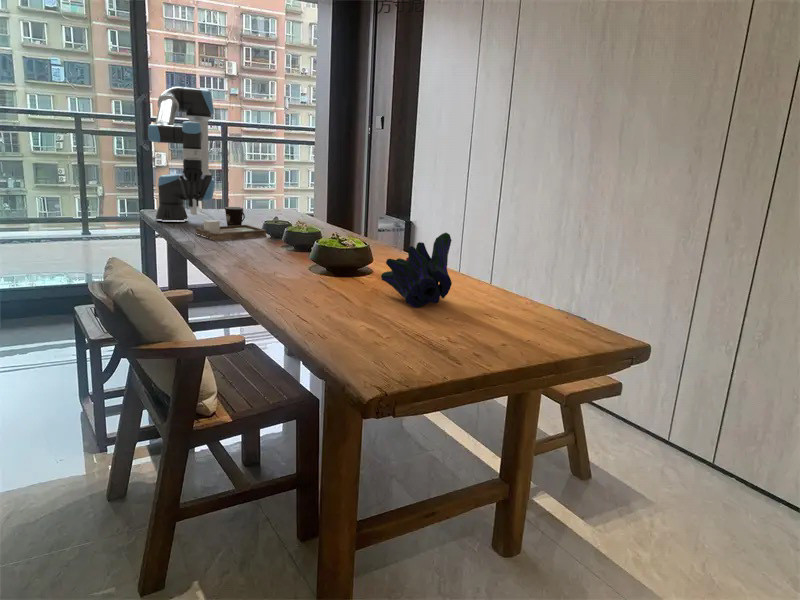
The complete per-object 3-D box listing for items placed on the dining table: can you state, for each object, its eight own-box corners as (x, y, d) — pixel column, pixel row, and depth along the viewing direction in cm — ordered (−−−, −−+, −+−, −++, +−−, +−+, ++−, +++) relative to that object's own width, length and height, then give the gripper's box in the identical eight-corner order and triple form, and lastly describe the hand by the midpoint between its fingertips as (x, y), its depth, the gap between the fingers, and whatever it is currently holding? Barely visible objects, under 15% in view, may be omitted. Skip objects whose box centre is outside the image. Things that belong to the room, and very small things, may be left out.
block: (203, 231, 278) (203, 220, 277) (214, 230, 282) (213, 219, 280) (209, 233, 275) (209, 222, 273) (219, 232, 278) (219, 221, 277)
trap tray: (195, 234, 280) (195, 228, 279) (246, 230, 298) (246, 224, 298) (214, 240, 269) (214, 234, 268) (266, 236, 287) (266, 230, 286)
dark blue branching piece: (400, 335, 189) (386, 286, 215) (480, 307, 189) (457, 261, 214) (378, 281, 178) (366, 236, 203) (464, 250, 178) (441, 209, 203)
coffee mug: (223, 227, 305) (223, 206, 302) (241, 227, 308) (241, 206, 306) (228, 231, 295) (227, 210, 292) (246, 230, 298) (246, 210, 296)
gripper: (182, 159, 258) (183, 216, 264) (210, 160, 267) (211, 214, 273) (173, 158, 263) (175, 213, 269) (202, 158, 273) (203, 212, 278)
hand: (193, 214), depth 271 cm, fingers closed
